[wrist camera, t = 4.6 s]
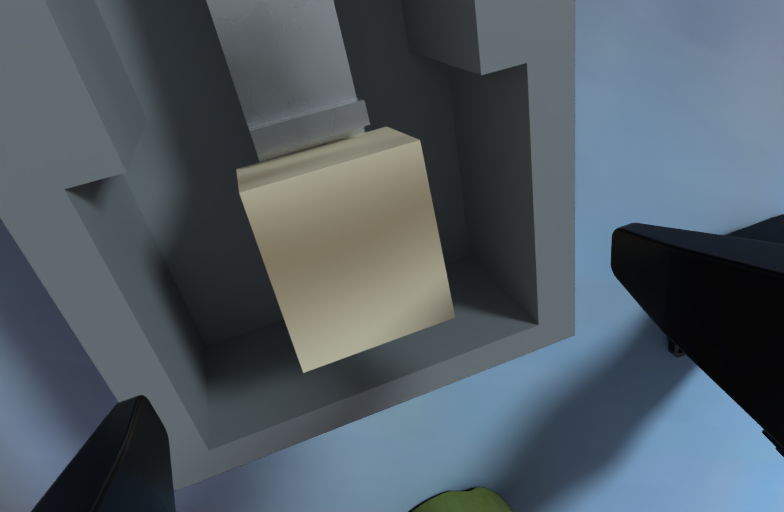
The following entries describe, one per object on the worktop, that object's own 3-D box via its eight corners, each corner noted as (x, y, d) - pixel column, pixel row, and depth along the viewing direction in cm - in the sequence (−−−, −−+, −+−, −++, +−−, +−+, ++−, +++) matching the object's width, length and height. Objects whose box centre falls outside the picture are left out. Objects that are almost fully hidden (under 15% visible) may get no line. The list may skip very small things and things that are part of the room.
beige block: (420, 278, 16) (455, 317, 13) (290, 323, 15) (303, 373, 12) (386, 126, 14) (419, 139, 11) (236, 169, 13) (239, 192, 11)
